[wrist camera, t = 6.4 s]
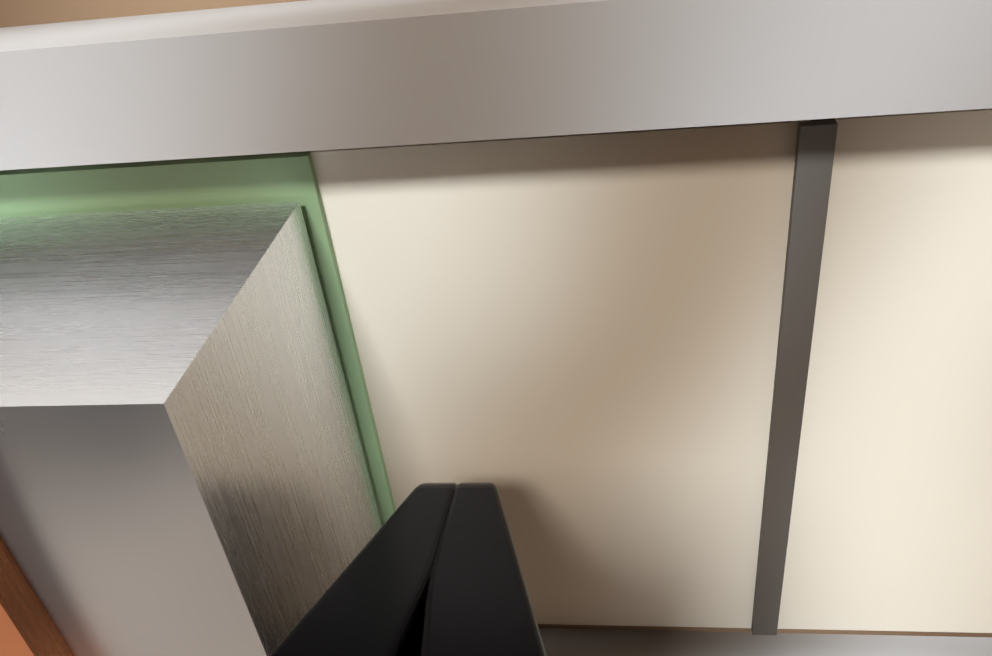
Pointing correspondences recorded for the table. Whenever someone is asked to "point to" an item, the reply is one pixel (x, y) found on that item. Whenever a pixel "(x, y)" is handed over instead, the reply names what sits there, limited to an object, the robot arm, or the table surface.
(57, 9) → the gauge track
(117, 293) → the block
